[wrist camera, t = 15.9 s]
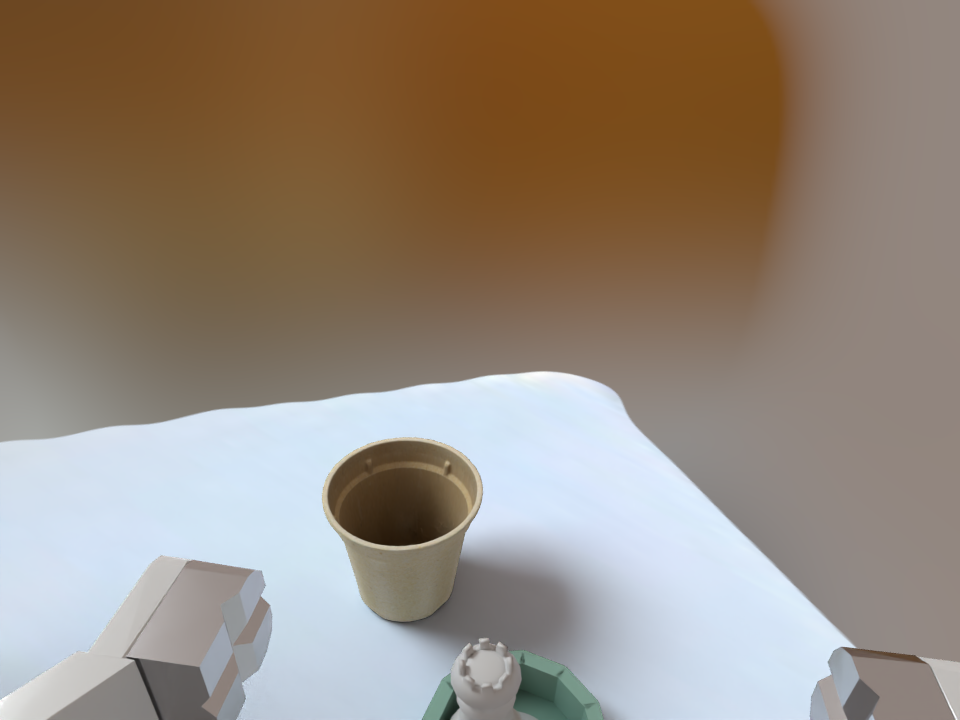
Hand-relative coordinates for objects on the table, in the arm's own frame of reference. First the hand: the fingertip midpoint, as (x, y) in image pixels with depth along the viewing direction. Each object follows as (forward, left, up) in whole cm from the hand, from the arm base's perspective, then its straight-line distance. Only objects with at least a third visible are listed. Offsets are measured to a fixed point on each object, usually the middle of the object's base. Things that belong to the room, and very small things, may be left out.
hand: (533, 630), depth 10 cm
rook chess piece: (+2, +12, -27) cm, 30 cm away
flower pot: (-2, +24, -28) cm, 37 cm away
